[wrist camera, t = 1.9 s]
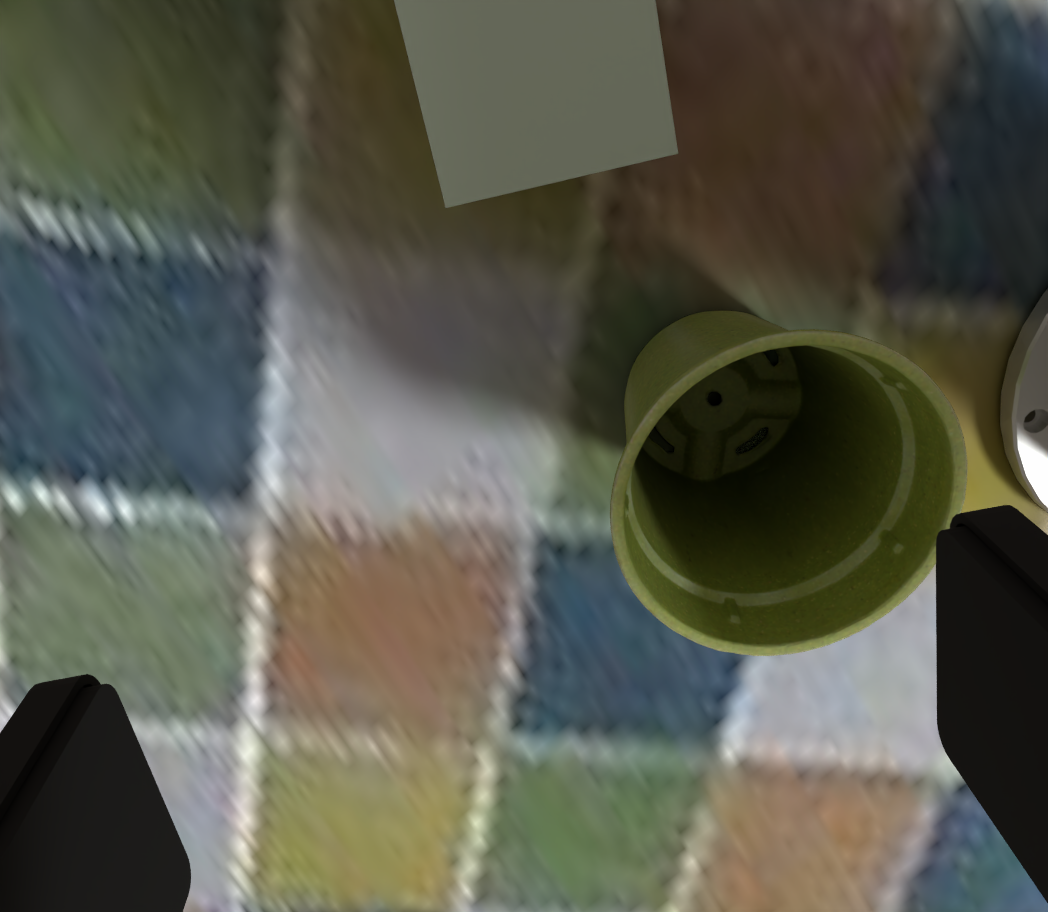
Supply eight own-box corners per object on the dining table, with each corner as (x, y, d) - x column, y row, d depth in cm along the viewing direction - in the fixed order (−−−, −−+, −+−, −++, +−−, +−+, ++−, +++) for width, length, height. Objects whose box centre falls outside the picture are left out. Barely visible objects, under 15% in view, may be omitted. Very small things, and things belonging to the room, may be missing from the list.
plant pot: (901, 393, 33) (1037, 502, 25) (697, 564, 35) (762, 714, 27) (731, 198, 30) (823, 251, 22) (520, 398, 33) (535, 511, 25)
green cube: (604, -83, 27) (638, -118, 22) (640, 134, 29) (678, 153, 24) (399, -33, 27) (380, -54, 22) (451, 178, 30) (445, 208, 24)
